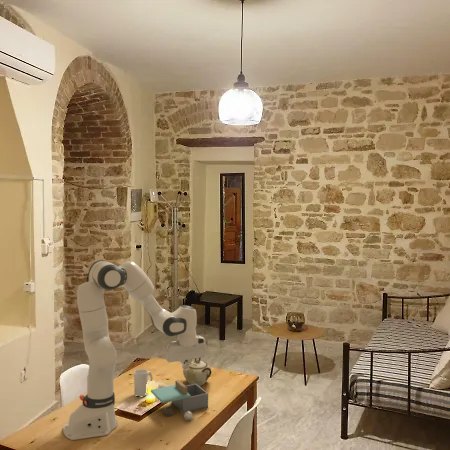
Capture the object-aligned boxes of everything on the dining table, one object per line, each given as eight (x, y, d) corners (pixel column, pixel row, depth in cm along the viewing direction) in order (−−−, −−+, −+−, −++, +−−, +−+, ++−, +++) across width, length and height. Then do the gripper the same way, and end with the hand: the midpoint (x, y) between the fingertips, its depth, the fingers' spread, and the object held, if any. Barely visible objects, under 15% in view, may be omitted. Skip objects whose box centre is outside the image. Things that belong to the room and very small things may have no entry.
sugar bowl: (220, 383, 257) (220, 356, 256) (201, 392, 245) (201, 363, 244) (193, 374, 270) (193, 348, 268) (174, 382, 258) (174, 354, 257)
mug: (138, 399, 237) (138, 375, 236) (131, 394, 242) (131, 371, 241) (155, 393, 243) (156, 370, 242) (148, 389, 248) (149, 366, 247)
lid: (162, 403, 216) (162, 394, 216) (150, 391, 228) (151, 383, 228) (190, 397, 223) (190, 388, 223) (178, 386, 235) (178, 378, 235)
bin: (183, 413, 222) (183, 398, 222) (171, 402, 233) (171, 388, 233) (208, 407, 229) (208, 393, 228) (195, 397, 240) (195, 383, 239)
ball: (166, 418, 217) (166, 409, 217) (163, 414, 221) (163, 406, 221) (174, 416, 219) (174, 407, 219) (171, 412, 223) (171, 404, 223)
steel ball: (186, 422, 214) (186, 414, 213) (182, 419, 217) (182, 410, 217) (194, 420, 216) (194, 412, 215) (190, 417, 219) (190, 408, 219)
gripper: (169, 344, 220) (168, 373, 221) (208, 339, 230) (207, 367, 231) (163, 340, 225) (162, 369, 226) (202, 335, 235) (201, 363, 236)
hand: (185, 368), depth 229 cm, fingers closed
